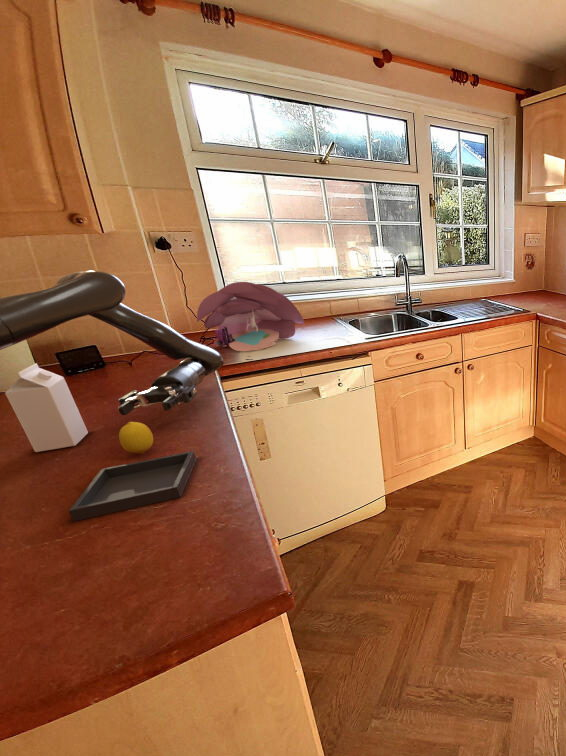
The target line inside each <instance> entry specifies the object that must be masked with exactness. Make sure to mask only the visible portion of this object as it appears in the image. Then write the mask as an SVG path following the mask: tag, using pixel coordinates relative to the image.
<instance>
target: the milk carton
mask: <svg viewBox="0 0 566 756" xmlns="http://www.w3.org/2000/svg"><path fill="white" fill-rule="evenodd" d="M17 374H18V377H19V378H18V379H17V380H16V381H15V382H14V383H13V384H12V385H11V386H10V387H9V388H8V389H7V390H6V391H5V392H4V394H5V396H6V398H7V400H8V402H9V404H10V406H11V408H12V410H13V412H14V413H15V416H16V418H17V420H18V421H19V423H20V425H21V427H22V429H23V431H24V433H25V436H26V438H27V439H28V442H29V443H30V445H31V447H32V449H33V452H35V453H40V452H45V451H46V452H47V451H52V450H57V449H64V448H68V447H69V448H70V447H75V446H77V445H78V443H80V442H81V441H82V440H83V439H84V438H85V437H86V436H87V435H88V434H89V431H88V428H87V427H86V424H85V422H84V420H83V417H82V416H81V413H80V411H79V408H78V406H77V403H76V402H75V399H74V398H73V395H72V393H71V391H70V389H69V386H68V384H67V382H66V379H65V377H64V376H62V375H59V374H56V373H54V372H52V371H50V370H46V369H43V368H41V367H39V365H38V363H37V362H36V363H34V364H32V365H30V366H27V367H26V368H24V369H22V370H20V371H18V372H17Z"/></svg>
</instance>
